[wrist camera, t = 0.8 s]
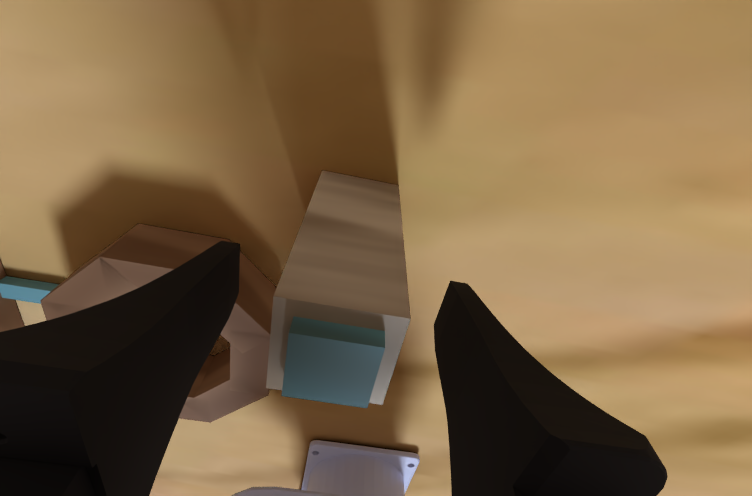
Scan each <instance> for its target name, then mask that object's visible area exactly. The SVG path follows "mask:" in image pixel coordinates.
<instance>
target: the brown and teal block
mask: <svg viewBox="0 0 752 496" xmlns="http://www.w3.org/2000/svg"><path fill="white" fill-rule="evenodd" d="M410 319H411V318H410V307H409V296H408V284H407V273H406V262H405V251H404V240H403V229H402V217H401V206H400V195H399V185H395V184H389V183H384V182H379V181H374V180H369V179H364V178H359V177H354V176H349V175H344V174H339V173H334V172H328V171H323V170H322V172H321V175H320V177H319V180H318V183H317V185H316V188H315V190H314V193H313V195H312V198H311V201H310V203H309V206H308V208H307V211H306V213H305V216H304V219H303V221H302V224H301V226H300V229H299V232H298V234H297V237H296V239H295V242H294V244H293V247H292V250H291V252H290V255H289V257H288V260H287V262H286V265H285V268H284V270H283V273H282V275H281V278H280V280H279V283H278V286H277V288H276V291H275V293H274V296H273V308H272V320H271V332H270V345H269V357H268V369H267V382H266V388H269V389H276V390H282V396H285V397H292V398H299V399H306V400H313V401H320V402H327V403H334V404H341V405H348V406H355V407H362V408H367V407H368V404H369V403H373V404H380V405H383V401H384V398H385V395H386V392H387V389H388V386H389V383H390V380H391V377H392V374H393V371H394V368H395V365H396V362H397V359H398V356H399V353H400V350H401V347H402V344H403V340H404V337H405V334H406V331H407V328H408V325H409V322H410Z"/></svg>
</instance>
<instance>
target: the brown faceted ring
mask: <svg viewBox="0 0 752 496" xmlns="http://www.w3.org/2000/svg"><path fill="white" fill-rule="evenodd" d="M220 241H227V242H231V241H230V240H229V239H223V238H217V237H211V236H206V235H200V234H194V233H189V232H183V231H177V230H172V229H166V228H160V227H155V226H149V225H143V224H137V225H136V226H134V227H133V228H132V229H131V230H129V231H128V232H127V233H125V234H124V235H123V236H121V237H120V238H119V239H117V240H116V241H115V242H113V243H112V244H111V245H109V246H108V247H107V248H105V249H104V250H103V251H101V252H100V253H99V254H97V255H96V256H95V257H93V258H92V259H91V260H89V261H88V262H87V263H85V264H83V265H82V266H81V267H79V268H78V269H77V270H76V271H75V272H74V273H72V274H71V275H70V276H69V277H68V278H66V279H65V280H64V281H63V282H62V283H60V284H59V285H58V286H57V287H56V288H54V289H53V290H52V291H51V292H50V293H48V294H47V295H46V296H45V297H44V298H43V299H41V300H40V301H41V305H42V308H43V311H44V314H45V317H46V320H51V319H55V318H58V317H61V316H65V315H68V314H71V313H74V312H77V311H80V310H83V309H86V308H89V307H92V306H94V305H97V304H100V303H103V302H106V301H108V300H111V299H114V298H116V297H118V296H121V295H123V294H125V293H128V292H130V291H133V290H135V289H137V288H139V287H141V286H143V285H145V284H147V283H149V282H151V281H153V280H155V279H157V278H159V277H161V276H163V275H164V274H166V273H168V272H170V271H172V270H174V269H176V268H177V267H179V266H181V265H182V264H184V263H186V262H187V261H189V260H191V259H192V258H194V257H196V256H197V255H199V254H200V253H202V252H204V251H205V250H207V249H208V248H210V247H212V246H213V245H215V244H216V243H218V242H220ZM275 291H276V287H275V286H274V285H273V284H272V283H271V282H270V281H269V280H268V279H267V278H266V277H265V276H264V275H263V274H262V273H261V272H260V271H259V270H258V269H257V268H256V267H255V266H254V265H253V264H252V263H251V261H250V260H249V259H248V258H247V257H246V256H245V255H244V254H243V253H242V252H241V251H240V271H239V294H238V296H237V299H236V302H235V304H234V307H233V310H232V312H231V315H230V317H229V319H228V321H227V323H226V325H225V326H224V328H223V330H222V332H221V334H220V335H221V336H223V337H224V338H225V339H226V340H227V341H228V342H230V348H228V349H226V350H225V351H223V352H221V353H219V354H217V355H215V356H212V355H208V357H207V359H206V361H205V362H204V364H203V366H202V368H201V370H200V371H199V373H198V375H197V377H196V379H195V381H194V383H193V385H192V388H191V390H190V392H189V395H188V397H187V399H186V402H185V404H184V407H183V409H182V411H181V414H180V416H179V418H181V419H188V420H196V421H203V422H212V421H214V420H217V419H219V418H221V417H223V416H225V415H227V414H229V413H231V412H234V411H236V410H238V409H240V408H242V407H244V406H246V405H248V404H251V403H253V402H255V401H257V400H259V399H261V398H263V397H265V396H268V394H269V391H270V389H269V388H266V382H267V369H268V357H269V345H270V332H271V320H272V308H273V296H274V293H275Z"/></svg>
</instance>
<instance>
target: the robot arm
mask: <svg viewBox="0 0 752 496" xmlns="http://www.w3.org/2000/svg"><path fill="white" fill-rule="evenodd" d="M239 271H240V244H238V243H232V242H227V241H220V242H218V243H216V244H215V245H213V246H212V247H210V248H208V249H207V250H205V251H204V252H202V253H200V254H199V255H197V256H196V257H194V258H192V259H191V260H189V261H187V262H186V263H184V264H182V265H181V266H179V267H177V268H176V269H174V270H172V271H170V272H168V273H166V274H164V275H163V276H161V277H159V278H157V279H155V280H153V281H151V282H149V283H147V284H145V285H143V286H141V287H139V288H137V289H135V290H133V291H130V292H128V293H125V294H123V295H121V296H118V297H116V298H114V299H111V300H108V301H106V302H103V303H100V304H97V305H94V306H92V307H89V308H86V309H83V310H80V311H77V312H74V313H71V314H68V315H65V316H61V317H58V318H55V319H51V320H47V321H44V322H40V323H36V324H32V325H28V326H24V327H20V328H16V329H11V330H7V331H2V332H0V496H149V494H150V491H151V489H152V486H153V483H154V480H155V478H156V475H157V472H158V470H159V467H160V464H161V462H162V459H163V457H164V454H165V451H166V449H167V446H168V443H169V441H170V438H171V436H172V433H173V431H174V429H175V426H176V424H177V421H178V419H179V416H180V414H181V411H182V409H183V407H184V404H185V402H186V399H187V397H188V395H189V392H190V390H191V388H192V385H193V383H194V381H195V379H196V377H197V375H198V373H199V371H200V370H201V368H202V366H203V364H204V362H205V361H206V359H207V357H208V355H209V353H210V352H211V350H212V348H213V346H214V345H215V343H216V341H217V339H218V337H219V336H220V334H221V332H222V330H223V328H224V326H225V325H226V323H227V321H228V319H229V317H230V315H231V312H232V310H233V307H234V304H235V302H236V299H237V296H238V294H239ZM434 339H435V352H436V358H437V364H438V369H439V375H440V380H441V386H442V391H443V396H444V402H445V407H446V414H447V421H448V434H449V447H450V464H451V484H452V496H657V495H658V494H659V492H660V491H661V490H662V489H663V488H664V485H665V482H666V480H667V472H666V469H665V467H664V465H663V464H662V462H661V460H660V459H659V457H658V455H657V454H656V452H655V451H654V449H653V447H652V446H651V444H650V442H649V441H648V439H647V438H646V436H644V435H643V434H641V433H639V432H638V431H636V430H634V429H633V428H631V427H629V426H628V425H626V424H624V423H622V422H621V421H619V420H617V419H616V418H614V417H612V416H611V415H609V414H607V413H606V412H604V411H603V410H601V409H600V408H598V407H597V406H595V405H594V404H592V403H591V402H589V401H588V400H586V399H585V398H584V397H582V396H581V395H579V394H578V393H577V392H575V391H574V390H572V389H571V388H570V387H569V386H567V385H566V384H565V383H563V382H562V381H561V380H560V379H558V378H557V377H556V376H554V375H553V374H552V373H551V372H550V371H548V370H547V369H546V368H545V367H544V366H543V365H542V364H540V363H539V362H538V361H537V360H536V359H535V358H534V357H533V356H532V355H530V354H529V353H528V352H527V351H526V350H525V349H524V348H523V347H522V346H521V345H520V344H519V343H518V342H517V341H516V340H515V339H514V337H513V336H512V335H511V334H510V333H509V332H508V331H507V330H506V329H505V328H504V327H503V326H502V324H501V323H500V322H499V321H498V320H497V319H496V317H495V316H494V315H493V314H492V313H491V311H490V310H489V309H488V308H487V307H486V305H485V304H484V303H483V302H482V301H481V299H480V298H479V297H478V296H477V294H476V293H475V292H474V291H473V290H472V288H471V287H470V286H469V285H468V284H466V283H460V282H455V281H450V283H449V286H448V288H447V291H446V294H445V296H444V299H443V302H442V304H441V307H440V310H439V312H438V315H437V318H436V320H435V323H434ZM418 464H419V455H418V454H416V453H412V452H404V451H397V450H389V449H382V448H374V447H367V446H359V445H352V444H344V443H337V442H329V441H322V440H313V441H312V442H311V443H310V446H309V451H308V457H307V462H306V467H305V472H304V478H303V483H302V488H301V490H299V489H290V488H282V487H251V488H249V489H246V490H243V491H241V492H238V493H235V494H234V495H232V496H405V492H406V490H407V488H408V485H409V483H410V481H411V479H412V477H413V475H414V472H415V470H416V468H417V466H418Z"/></svg>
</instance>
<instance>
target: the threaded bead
mask: <svg viewBox="0 0 752 496" xmlns="http://www.w3.org/2000/svg"><path fill="white" fill-rule="evenodd" d="M5 276H6V274H5V271H4V269H3V266H2V263H1V260H0V280H1V279H3V278H4V277H5ZM20 327H24V324H23V321H22V318H21V315H20V313H19V310H18V307H17V304H16V302H15V300H14V299H8V298H2V296H1V293H0V332H2V331H7V330H11V329H16V328H20Z"/></svg>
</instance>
